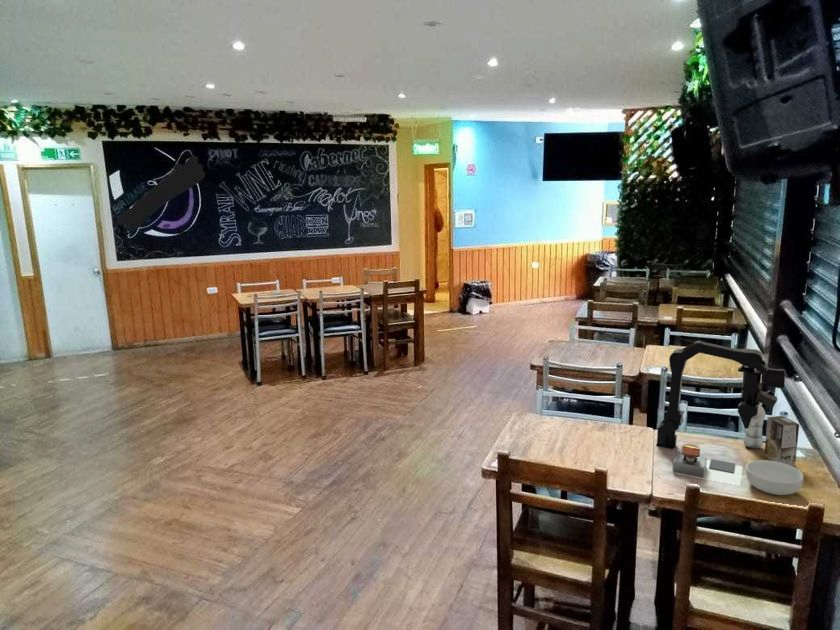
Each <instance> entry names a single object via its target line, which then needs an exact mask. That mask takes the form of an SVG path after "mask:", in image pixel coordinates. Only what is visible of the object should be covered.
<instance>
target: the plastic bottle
mask: <svg viewBox="0 0 840 630" xmlns="http://www.w3.org/2000/svg"><path fill="white" fill-rule="evenodd" d="M762 405H763V403H761V402H760V403H759V405H757V406H758V413H757V415H756V416H753V417H752V419H751V422H750V425H749V427H748V429H746V428H745V434H744V436H743V443H744V445H745V447H746V448H749V449H755V450H757V449H761V448H762V447H763V443H764V437H763V427H764V426H763V425H764V420H765V416H766V411H765V409H764V407H763V406H762Z"/></svg>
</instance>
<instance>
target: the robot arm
mask: <svg viewBox="0 0 840 630" xmlns="http://www.w3.org/2000/svg"><path fill="white" fill-rule="evenodd" d="M698 354H703V355H708V356H712V357H713V356H714V357H718V358H722V359H727V360H731V361H734V362H735V363H738V364H740V365H741V366H739V367H738V368H737V372H739V373H743V375H742V383H741V384H742V385H741V388H740V389H741V395H740V400H739V401H740V402H739V403H738V405H737V413H738V414H739V417H740V419H741V423H742V424H743V427H744V429H745V430H746V429H748V427H749V425H750V422H751V419H752V417H753V416H756V415H757V413H758V406H757V405H759V403H760V402H761V403H762V405H765V406H766V407H768V408H771V409H773V408H774V406H775V405H776V403H777V401H778V397H777V396H775V391H773V390H771V389H769V390H768V391H763V390H762V387H761V382H762V384H764V385H765V387H767V388H768V387H769V388H776V389H783V390H784V388H785V384H786V383H785V381H786V377H785V373H786V370H785V369H783V368H779V369H778V368H771V367H770V368H769V366H768V364H767V362H766V361H765V360H764V354H763V353H762V351H760V350H758V349H756V348H755V349H753V348H733V347H729V346H724V345H719V344H715V343H709V342H705V341H702V340H696V341H695V342H693V343H691V344H689V345H687V346H685V347H684V348H677V349H675V350H673V351H672V353H671V354H670V355H669V358H668V361H669V368H670V372H671V373H670V374H671V375H670V376H671V377H670V385H669V386H670V389H669V399H668V407H667V410H666V414H665V417H664V419H662V420H661V421H660V423H659V425H658V426H657V429H656V430H657V436H656V437H657V439H656V444H655V447H659V448H665V449H671V450H674V449H675V447H676V446H677V439H678V435H677V434H676V431H677V430H678V429H679V428H680V427H682V424H683V422H684V420H685V419H684V413H685V410H682V409H681V406H680V404H681V394H682V384H683V377H684V376H683V374H684V371H685V368H686V365H687V361H688V360H690V359H692V358H694V357H695V356H696V355H698Z"/></svg>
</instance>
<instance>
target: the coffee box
mask: <svg viewBox="0 0 840 630" xmlns="http://www.w3.org/2000/svg"><path fill="white" fill-rule="evenodd" d="M766 419H767V420H766V430H765V431H766V432H765V446H764V457H766V458H767V459H768V460H769V461H776V462H781V463H784V464H788V465H790V466H793V467H795V466H796V457H797V450H798V449H797V448H798V440H799V430H800V423H797V422H795V421H794V420H792V419H789V418H788V417H786V416H783V415H780V416H779V415H775V416H767V418H766Z"/></svg>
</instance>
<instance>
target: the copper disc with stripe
mask: <svg viewBox="0 0 840 630" xmlns="http://www.w3.org/2000/svg"><path fill="white" fill-rule="evenodd" d="M681 452H682V454H683V455H684V456H686V461H689V462H694V463H695V458H697V457H699V456H701V448H700V446H698V445H695V444H691V443H689V444H686V443H685V444H682V446H681Z"/></svg>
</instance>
